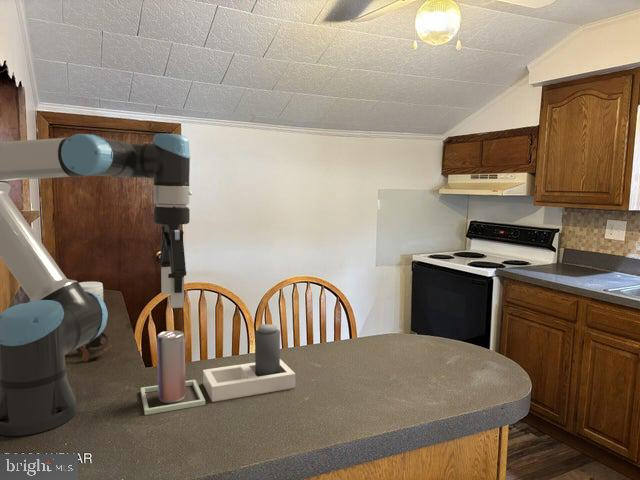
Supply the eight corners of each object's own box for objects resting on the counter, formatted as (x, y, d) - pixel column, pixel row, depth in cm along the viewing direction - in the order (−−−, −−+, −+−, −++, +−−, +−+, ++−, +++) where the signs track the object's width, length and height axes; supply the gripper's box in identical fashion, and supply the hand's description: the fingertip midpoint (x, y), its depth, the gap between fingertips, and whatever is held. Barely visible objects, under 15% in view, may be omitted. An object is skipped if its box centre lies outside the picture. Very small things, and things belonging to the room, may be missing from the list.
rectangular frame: (144, 415, 99) (144, 410, 99) (140, 391, 111) (140, 387, 111) (205, 404, 105) (205, 400, 104) (195, 383, 116) (195, 379, 116)
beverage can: (152, 400, 106) (150, 335, 105) (172, 390, 112) (170, 328, 110) (172, 406, 104) (170, 339, 102) (191, 396, 109) (190, 332, 107)
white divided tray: (212, 401, 106) (212, 386, 106) (203, 383, 116) (202, 369, 116) (295, 387, 114) (295, 373, 114) (280, 371, 124) (280, 358, 124)
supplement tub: (66, 327, 161) (65, 285, 160) (89, 320, 170) (87, 280, 169) (88, 330, 158) (87, 287, 157) (110, 323, 167) (108, 282, 165)
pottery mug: (117, 351, 140) (117, 331, 136) (101, 375, 132) (102, 355, 128) (76, 340, 139) (76, 321, 135) (58, 365, 131) (57, 344, 127)
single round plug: (259, 389, 113) (259, 331, 112) (252, 380, 118) (252, 324, 117) (283, 385, 116) (283, 328, 114) (275, 376, 121) (275, 322, 120)
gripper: (201, 208, 95) (200, 312, 97) (179, 204, 117) (179, 288, 119) (162, 208, 91) (162, 315, 94) (147, 203, 114) (148, 290, 116)
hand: (172, 300), depth 106 cm, fingers open, 13 cm apart
